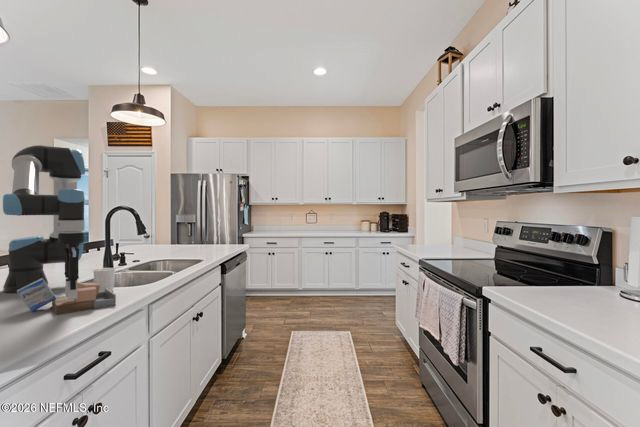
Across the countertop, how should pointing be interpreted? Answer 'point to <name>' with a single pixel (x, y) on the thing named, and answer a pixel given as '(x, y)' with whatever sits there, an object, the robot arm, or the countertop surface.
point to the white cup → (104, 278)
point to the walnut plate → (70, 305)
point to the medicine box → (36, 294)
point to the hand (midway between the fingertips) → (71, 296)
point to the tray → (104, 299)
